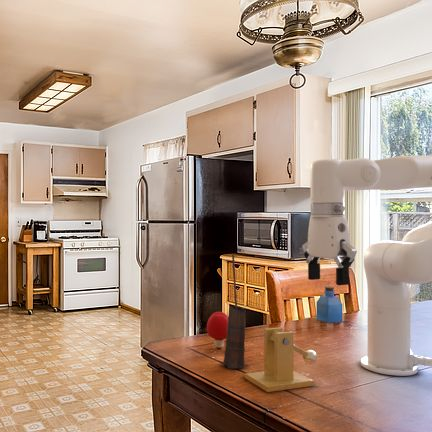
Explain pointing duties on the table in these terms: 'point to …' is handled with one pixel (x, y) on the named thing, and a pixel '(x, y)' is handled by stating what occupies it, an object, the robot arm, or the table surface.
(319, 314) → the perfume bottle
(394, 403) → the table surface
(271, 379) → the bracket
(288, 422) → the table surface
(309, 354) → the switch lever
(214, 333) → the red rounded lump
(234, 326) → the butter churn
